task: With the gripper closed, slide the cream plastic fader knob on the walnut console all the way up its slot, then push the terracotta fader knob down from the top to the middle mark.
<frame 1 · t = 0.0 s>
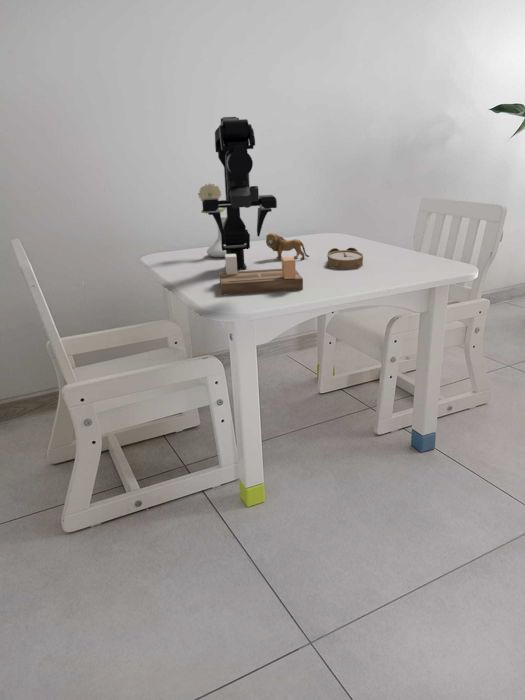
hand: (240, 237, 133), 15 cm above the table, tool pointing down, fingers open, 9 cm apart
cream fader: (231, 264, 144), point 6 cm above the table, slide at 0.0 cm
lion figurine: (286, 259, 174), on the table
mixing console: (260, 285, 143), on the table
terracotta fader: (288, 267, 137), point 6 cm above the table, slide at 15.0 cm
flower in vase: (220, 256, 182), on the table
alarm clock: (344, 265, 164), on the table
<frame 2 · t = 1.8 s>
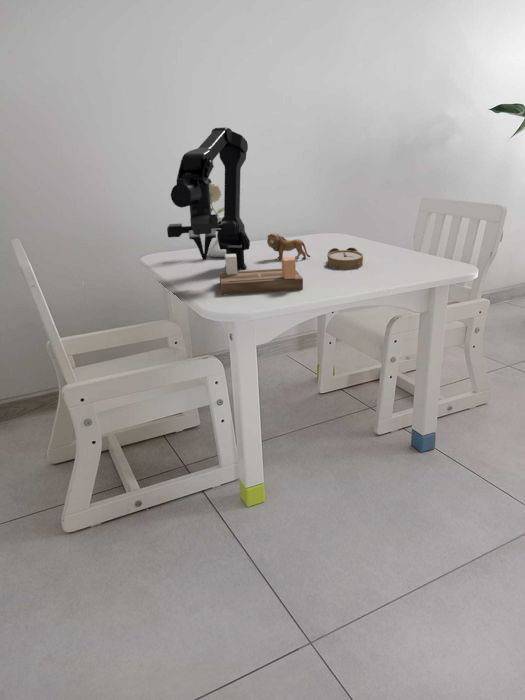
hand: (204, 259, 143), 7 cm above the table, tool pointing down, fingers closed
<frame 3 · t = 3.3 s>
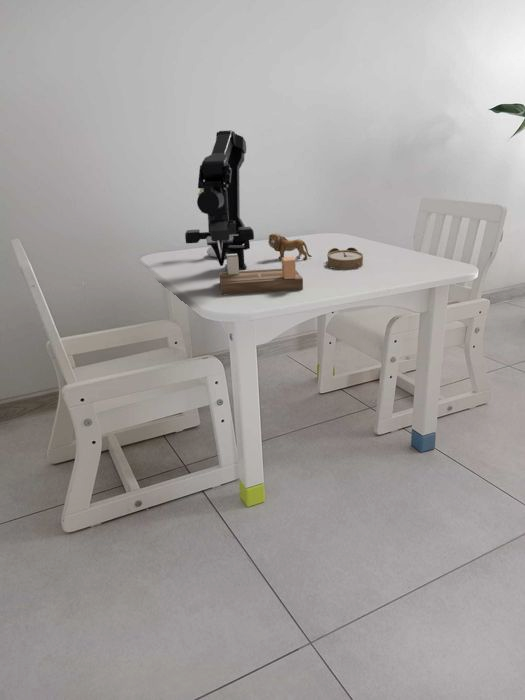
hand: (221, 265, 144), 5 cm above the table, tool pointing down, fingers closed
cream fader: (232, 264, 144), point 6 cm above the table, slide at 0.4 cm, touching gripper
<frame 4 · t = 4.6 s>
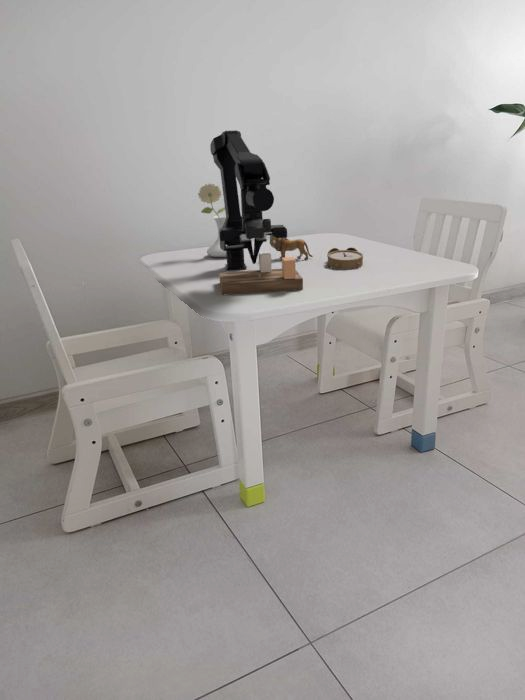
hand: (254, 263, 145), 6 cm above the table, tool pointing down, fingers closed
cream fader: (265, 262, 145), point 6 cm above the table, slide at 9.7 cm, touching gripper
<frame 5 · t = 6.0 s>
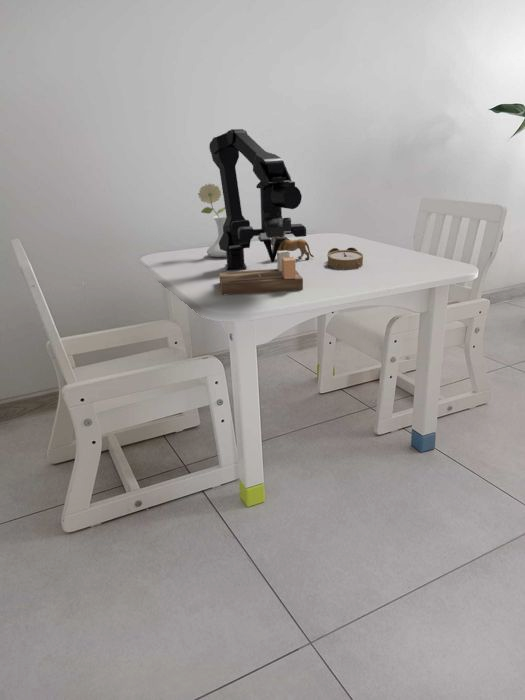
hand: (272, 262, 145), 6 cm above the table, tool pointing down, fingers closed
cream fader: (283, 260, 145), point 6 cm above the table, slide at 15.0 cm, touching gripper
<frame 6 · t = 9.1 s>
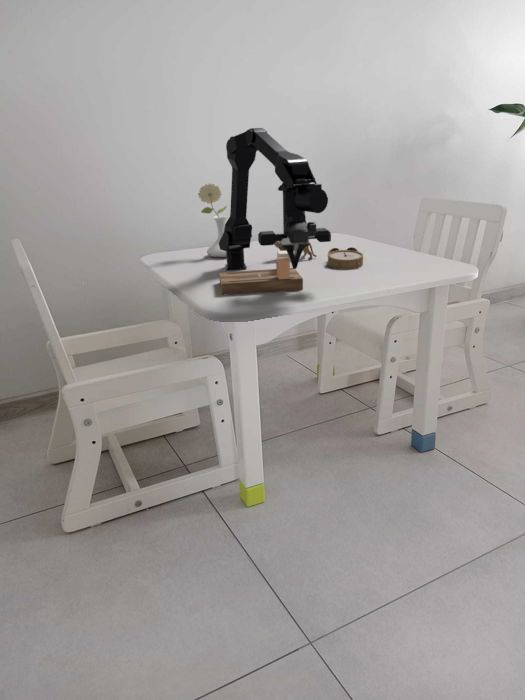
hand: (294, 268, 138), 5 cm above the table, tool pointing down, fingers closed
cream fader: (283, 260, 145), point 6 cm above the table, slide at 15.0 cm
terracotta fader: (282, 268, 137), point 6 cm above the table, slide at 13.4 cm, touching gripper
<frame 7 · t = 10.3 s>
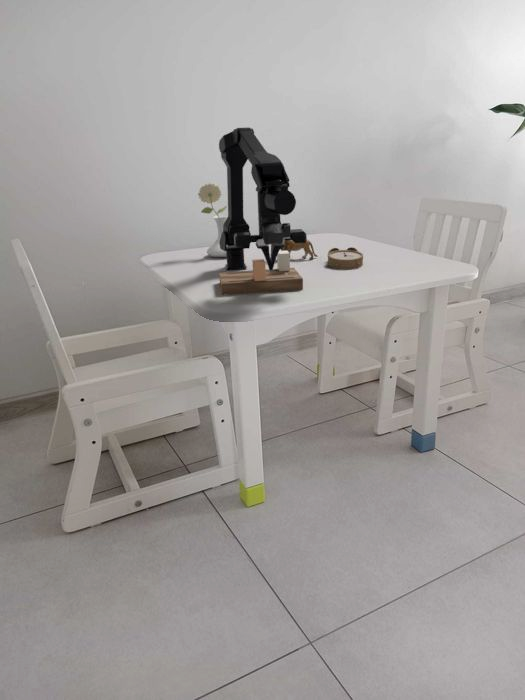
hand: (270, 269, 137), 5 cm above the table, tool pointing down, fingers closed
terracotta fader: (259, 269, 136), point 6 cm above the table, slide at 6.9 cm, touching gripper
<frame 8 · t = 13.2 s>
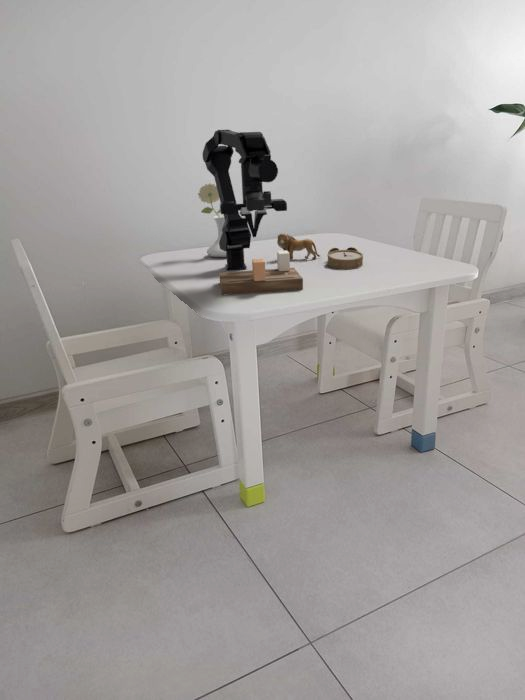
hand: (254, 237, 147), 12 cm above the table, tool pointing down, fingers closed
terracotta fader: (258, 269, 136), point 6 cm above the table, slide at 6.8 cm
at the end: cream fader slide at 15.0 cm; terracotta fader slide at 6.8 cm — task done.
